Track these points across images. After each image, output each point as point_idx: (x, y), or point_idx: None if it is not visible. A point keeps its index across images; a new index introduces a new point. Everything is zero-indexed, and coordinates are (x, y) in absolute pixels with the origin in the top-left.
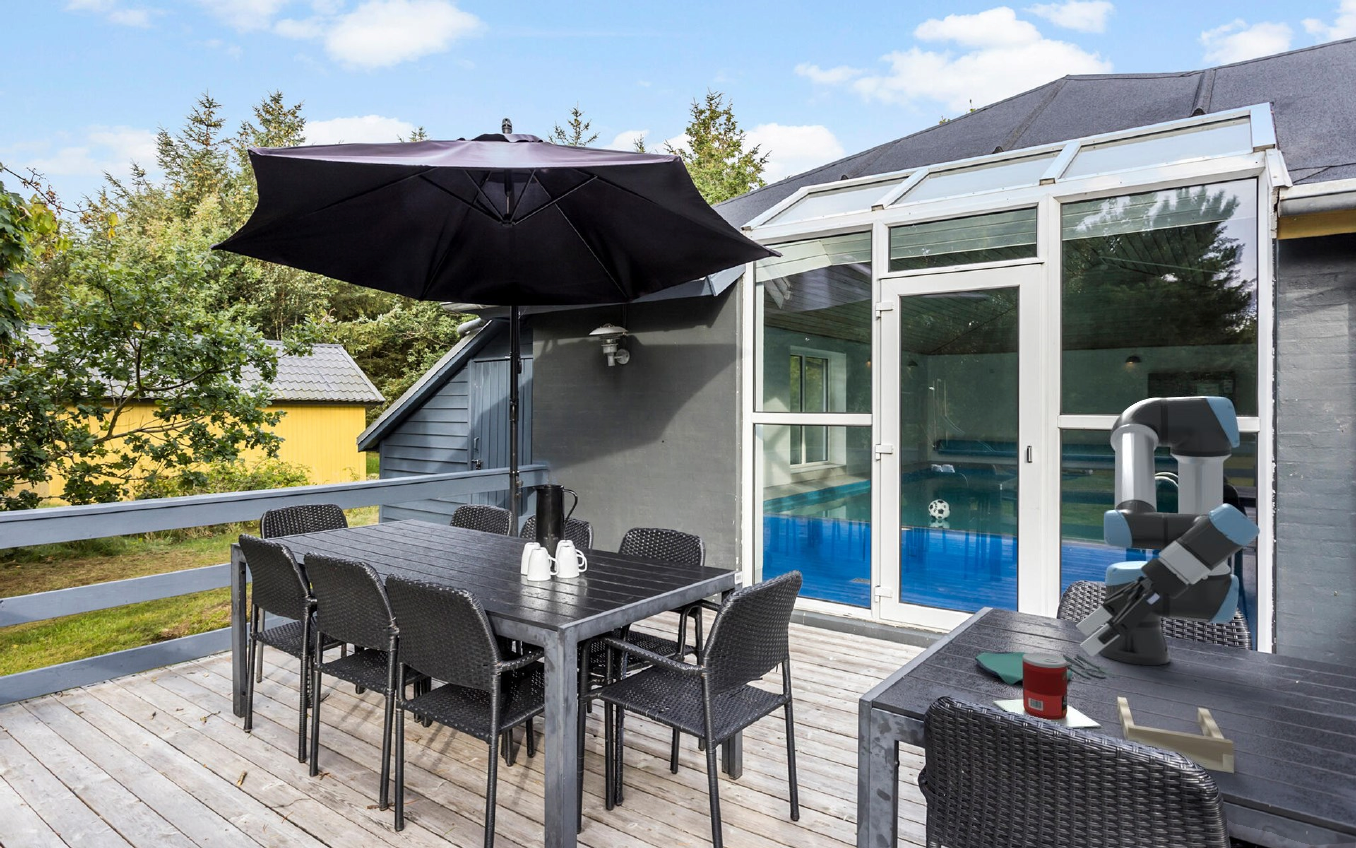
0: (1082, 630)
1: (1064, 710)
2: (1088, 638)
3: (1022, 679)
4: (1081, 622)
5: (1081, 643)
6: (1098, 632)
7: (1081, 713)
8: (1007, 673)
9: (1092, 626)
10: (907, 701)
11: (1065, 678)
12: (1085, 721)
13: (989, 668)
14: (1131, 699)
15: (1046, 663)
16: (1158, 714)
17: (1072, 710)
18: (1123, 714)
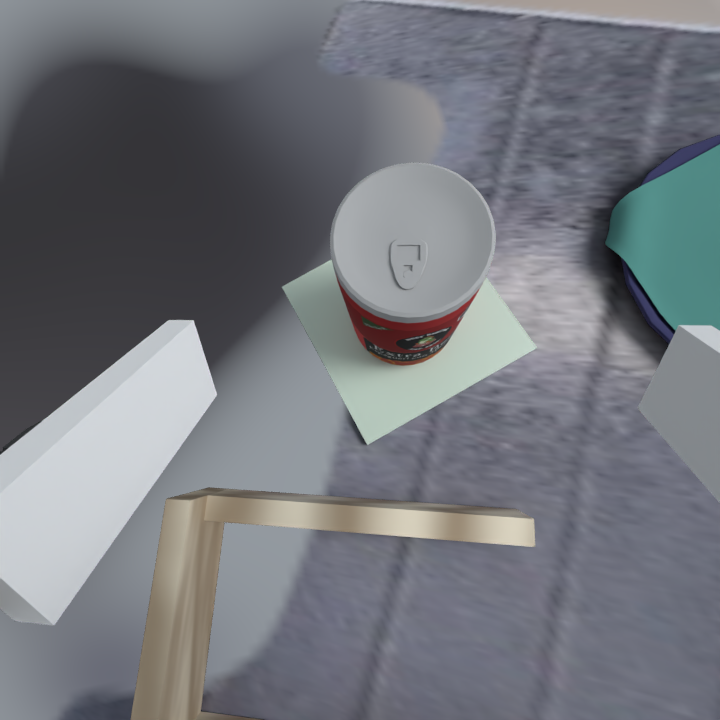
0: (665, 375)
1: (375, 354)
2: (137, 356)
3: (624, 257)
4: (717, 354)
5: (180, 325)
6: (49, 422)
7: (436, 404)
8: (673, 220)
9: (711, 446)
10: (363, 52)
11: (377, 331)
12: (379, 409)
13: (683, 171)
14: (660, 574)
15: (368, 246)
16: (550, 635)
17: (448, 383)
18: (367, 510)
